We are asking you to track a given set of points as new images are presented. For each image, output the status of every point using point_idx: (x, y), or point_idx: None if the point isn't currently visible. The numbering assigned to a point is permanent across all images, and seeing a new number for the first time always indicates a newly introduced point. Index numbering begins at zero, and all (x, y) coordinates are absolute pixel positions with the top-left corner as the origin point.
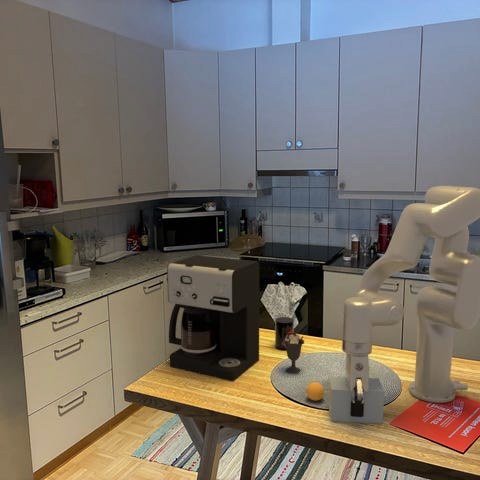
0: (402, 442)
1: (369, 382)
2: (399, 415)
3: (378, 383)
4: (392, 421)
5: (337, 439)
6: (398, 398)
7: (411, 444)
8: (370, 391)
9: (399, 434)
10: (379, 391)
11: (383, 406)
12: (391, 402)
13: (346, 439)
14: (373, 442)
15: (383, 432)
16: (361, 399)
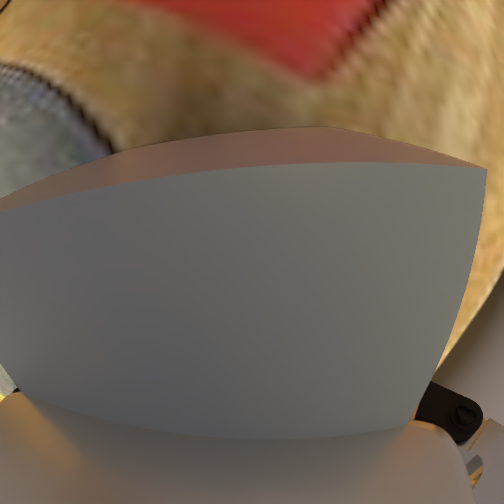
0: (490, 76)
1: (88, 388)
2: (190, 13)
3: (39, 256)
4: (283, 58)
5: (449, 350)
6: (18, 54)
7: (493, 42)
8: (415, 404)
9: (430, 59)
10: (466, 281)
11: (366, 134)
12: (51, 76)
13: (457, 323)
14: (494, 219)
15: (425, 145)
16: (476, 414)
